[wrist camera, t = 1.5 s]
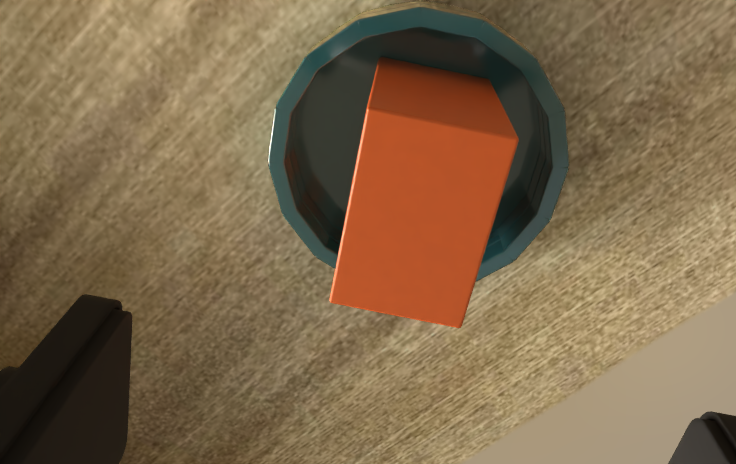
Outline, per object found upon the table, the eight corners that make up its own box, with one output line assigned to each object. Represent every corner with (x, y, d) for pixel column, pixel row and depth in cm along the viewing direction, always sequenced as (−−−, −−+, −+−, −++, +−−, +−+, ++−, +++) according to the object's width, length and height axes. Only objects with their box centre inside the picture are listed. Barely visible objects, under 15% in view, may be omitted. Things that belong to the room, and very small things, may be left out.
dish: (592, 34, 22) (612, 46, 20) (509, 283, 27) (517, 316, 25) (303, -27, 22) (291, -21, 20) (267, 234, 27) (254, 263, 24)
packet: (490, 78, 23) (520, 138, 16) (449, 228, 25) (461, 330, 19) (379, 55, 23) (366, 106, 16) (349, 209, 25) (328, 303, 19)
